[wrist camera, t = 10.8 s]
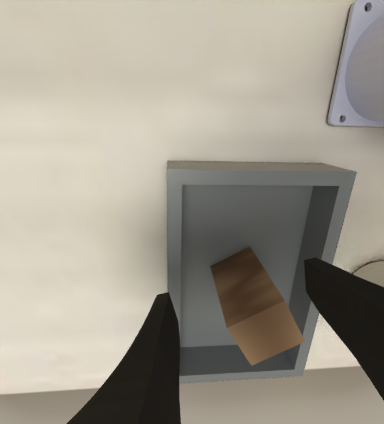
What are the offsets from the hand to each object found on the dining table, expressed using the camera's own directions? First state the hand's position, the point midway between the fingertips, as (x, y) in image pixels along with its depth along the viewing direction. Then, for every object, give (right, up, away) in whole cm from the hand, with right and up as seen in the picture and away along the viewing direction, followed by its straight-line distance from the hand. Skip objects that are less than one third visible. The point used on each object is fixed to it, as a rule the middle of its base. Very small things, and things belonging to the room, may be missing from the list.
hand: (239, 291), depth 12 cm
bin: (+2, -1, +11) cm, 11 cm away
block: (+2, -1, +10) cm, 10 cm away
